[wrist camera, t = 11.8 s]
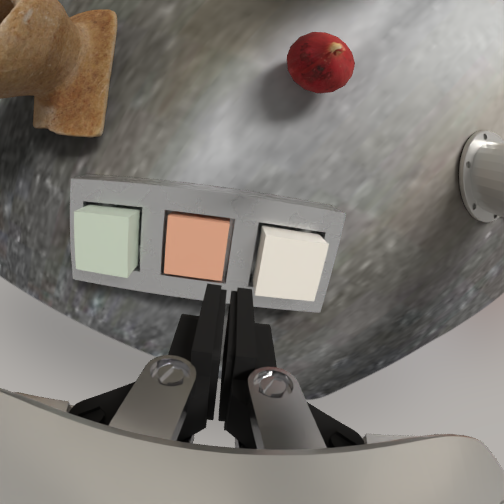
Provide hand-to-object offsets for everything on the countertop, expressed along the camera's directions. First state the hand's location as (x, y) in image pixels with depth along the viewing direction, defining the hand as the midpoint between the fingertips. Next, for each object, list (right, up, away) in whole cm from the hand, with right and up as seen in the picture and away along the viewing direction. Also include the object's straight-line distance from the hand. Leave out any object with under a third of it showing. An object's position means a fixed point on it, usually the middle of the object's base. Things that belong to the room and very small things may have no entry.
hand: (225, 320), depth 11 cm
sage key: (-12, +4, +14) cm, 19 cm away
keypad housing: (-4, +4, +18) cm, 19 cm away
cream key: (+4, +2, +15) cm, 16 cm away
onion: (+7, +20, +13) cm, 25 cm away
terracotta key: (-4, +4, +16) cm, 17 cm away
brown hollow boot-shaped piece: (-18, +22, +11) cm, 30 cm away
